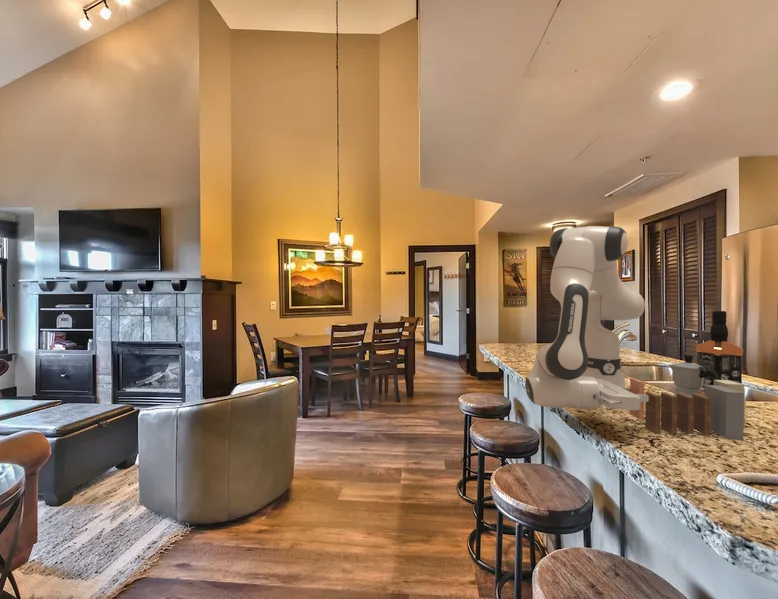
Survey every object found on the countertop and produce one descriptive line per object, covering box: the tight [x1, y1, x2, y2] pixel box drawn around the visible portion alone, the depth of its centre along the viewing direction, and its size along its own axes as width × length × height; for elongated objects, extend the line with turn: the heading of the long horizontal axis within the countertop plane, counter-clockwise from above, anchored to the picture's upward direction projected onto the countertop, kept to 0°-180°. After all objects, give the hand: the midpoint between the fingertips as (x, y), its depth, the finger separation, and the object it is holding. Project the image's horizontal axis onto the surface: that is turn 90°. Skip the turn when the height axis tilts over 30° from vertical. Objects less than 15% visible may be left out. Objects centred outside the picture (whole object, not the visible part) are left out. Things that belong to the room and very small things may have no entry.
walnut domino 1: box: [644, 391, 661, 434], centre depth 103 cm, size 1×5×10 cm, turn 172°
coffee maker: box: [668, 354, 720, 397], centre depth 120 cm, size 15×9×18 cm, turn 18°
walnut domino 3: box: [677, 393, 694, 435], centre depth 102 cm, size 1×5×10 cm, turn 173°
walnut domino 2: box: [660, 391, 678, 435], centre depth 102 cm, size 1×5×10 cm, turn 173°
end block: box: [705, 385, 745, 441], centre depth 101 cm, size 8×4×12 cm, turn 173°
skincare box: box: [714, 380, 746, 428], centre depth 109 cm, size 6×4×12 cm
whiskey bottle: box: [695, 310, 744, 396], centre depth 129 cm, size 10×10×32 cm
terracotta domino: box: [629, 377, 645, 421], centre depth 103 cm, size 1×5×10 cm, turn 172°
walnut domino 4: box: [692, 393, 711, 437], centre depth 101 cm, size 1×5×10 cm, turn 173°
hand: (640, 394), depth 103 cm, fingers closed on terracotta domino, 5 cm apart
